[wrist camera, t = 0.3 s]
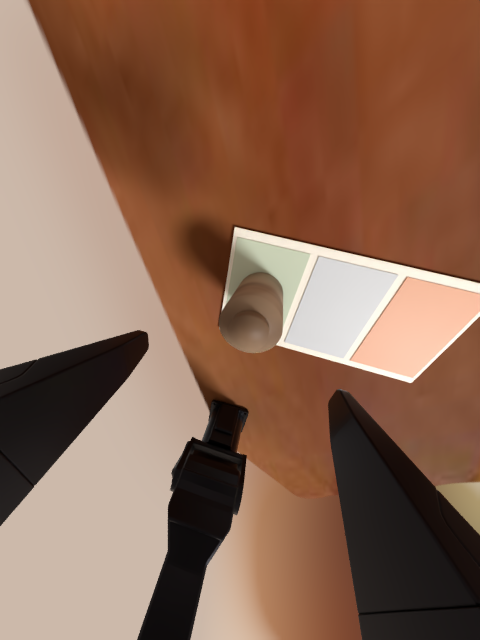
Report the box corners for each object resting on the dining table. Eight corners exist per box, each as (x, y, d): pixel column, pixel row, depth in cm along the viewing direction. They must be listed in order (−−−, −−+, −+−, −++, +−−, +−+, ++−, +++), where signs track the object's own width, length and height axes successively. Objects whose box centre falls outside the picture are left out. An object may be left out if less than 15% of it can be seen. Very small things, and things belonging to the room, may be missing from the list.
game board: (409, 381, 22) (411, 383, 21) (219, 327, 24) (218, 329, 23) (502, 288, 16) (507, 290, 15) (235, 226, 18) (234, 227, 17)
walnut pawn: (275, 319, 21) (271, 368, 14) (234, 308, 21) (211, 350, 15) (289, 278, 18) (292, 314, 12) (242, 267, 19) (219, 294, 12)
